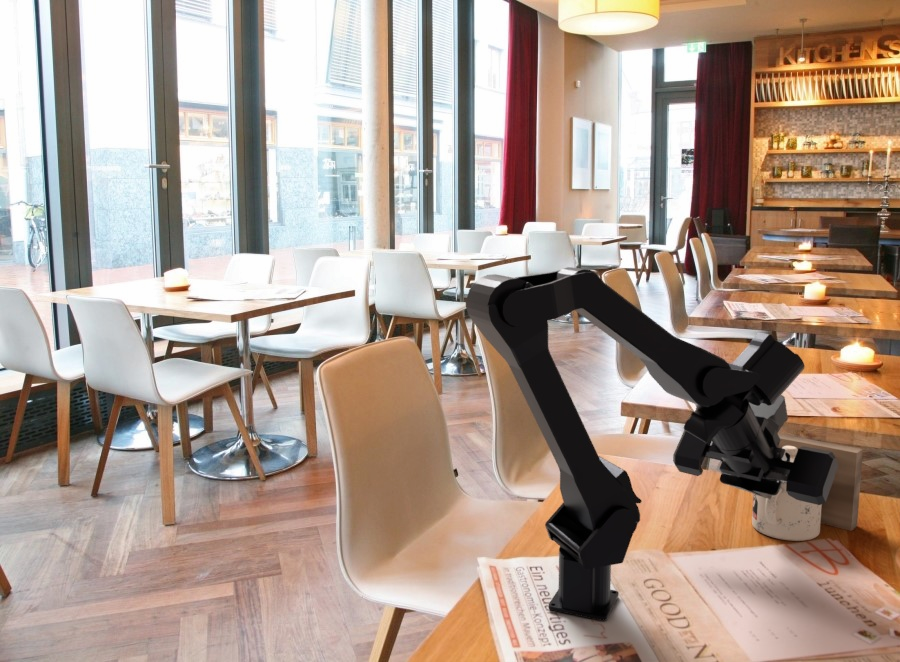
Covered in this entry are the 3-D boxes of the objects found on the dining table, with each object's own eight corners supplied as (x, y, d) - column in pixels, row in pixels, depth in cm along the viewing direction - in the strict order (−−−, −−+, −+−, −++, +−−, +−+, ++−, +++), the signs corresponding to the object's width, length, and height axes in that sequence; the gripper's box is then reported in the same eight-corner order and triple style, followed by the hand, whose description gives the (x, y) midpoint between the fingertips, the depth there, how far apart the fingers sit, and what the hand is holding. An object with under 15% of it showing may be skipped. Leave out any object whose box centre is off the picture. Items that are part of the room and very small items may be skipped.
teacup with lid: (762, 511, 116) (766, 434, 114) (829, 527, 110) (835, 445, 108) (732, 538, 107) (736, 453, 105) (803, 556, 101) (809, 467, 99)
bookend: (851, 530, 109) (856, 453, 107) (757, 506, 118) (761, 434, 116) (857, 525, 110) (862, 449, 109) (764, 502, 119) (768, 431, 118)
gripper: (837, 385, 90) (864, 457, 100) (686, 365, 103) (722, 430, 113) (807, 469, 86) (837, 536, 95) (653, 437, 99) (693, 498, 108)
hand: (769, 495), depth 103 cm, fingers closed, pressing on teacup with lid
